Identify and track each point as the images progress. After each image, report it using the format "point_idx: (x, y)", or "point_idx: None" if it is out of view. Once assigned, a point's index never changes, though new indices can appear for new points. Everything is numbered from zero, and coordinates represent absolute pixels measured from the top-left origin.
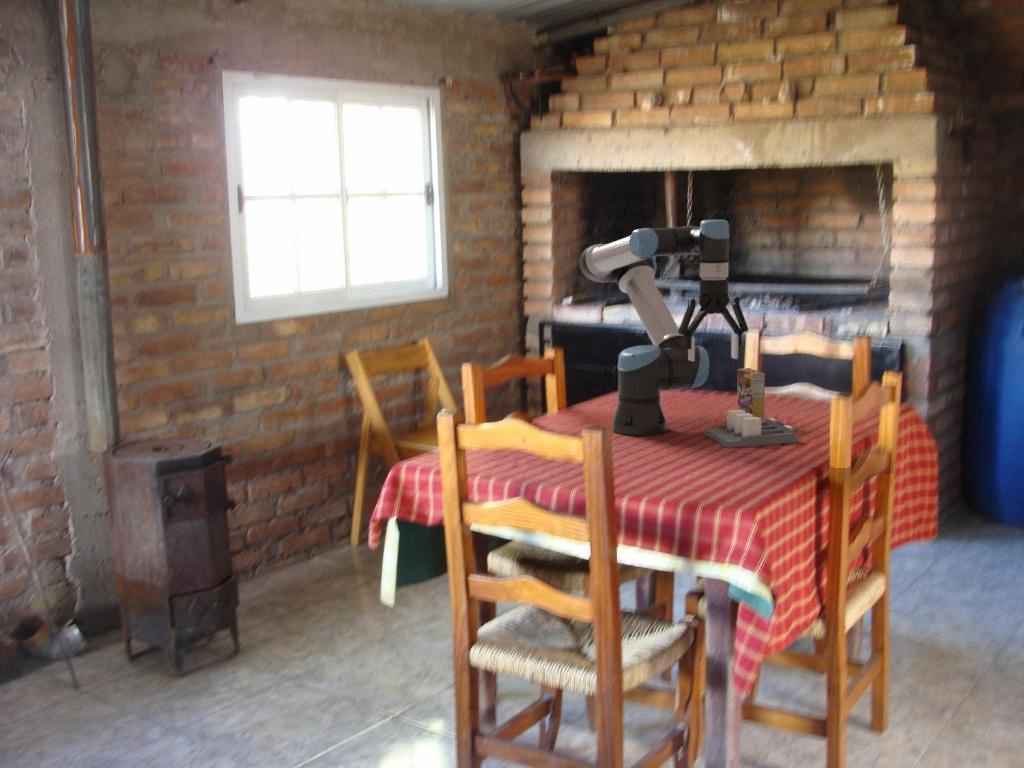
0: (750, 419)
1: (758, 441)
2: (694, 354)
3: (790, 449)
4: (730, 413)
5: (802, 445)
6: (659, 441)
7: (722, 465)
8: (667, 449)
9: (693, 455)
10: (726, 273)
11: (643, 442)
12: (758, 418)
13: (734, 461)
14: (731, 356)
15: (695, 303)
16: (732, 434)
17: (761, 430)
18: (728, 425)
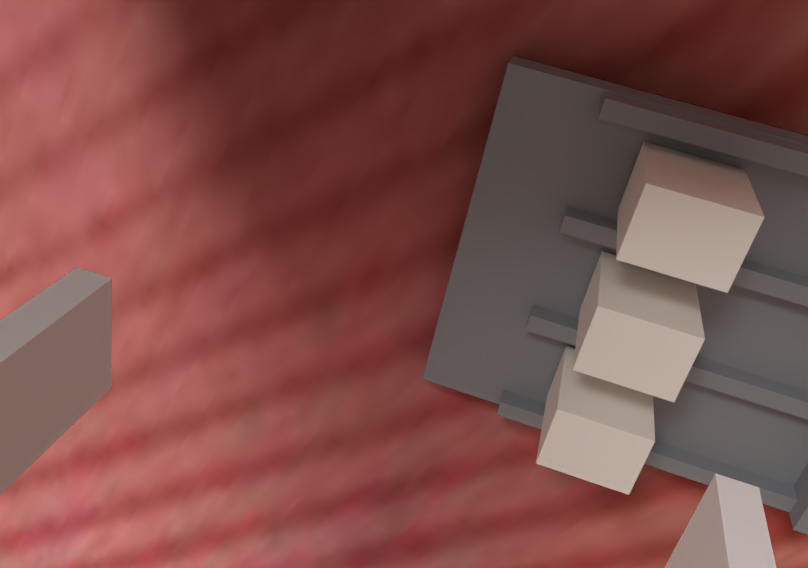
0: (562, 467)
1: None
2: (52, 441)
3: (662, 541)
4: (623, 235)
5: (780, 533)
6: (192, 56)
7: (248, 527)
8: (161, 224)
9: (220, 369)
10: None
11: (105, 28)
12: (624, 477)
13: (318, 519)
14: (713, 491)
15: None
16: (561, 273)
17: (713, 372)
18: (636, 170)
